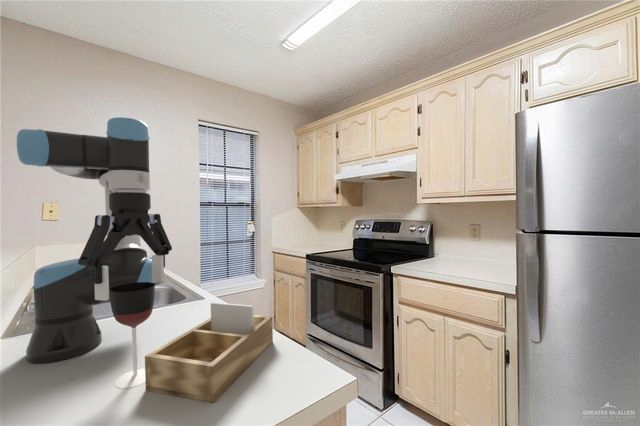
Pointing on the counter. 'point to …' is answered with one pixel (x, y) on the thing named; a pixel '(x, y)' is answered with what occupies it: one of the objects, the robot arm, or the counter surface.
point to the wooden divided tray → (205, 360)
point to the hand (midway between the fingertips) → (133, 290)
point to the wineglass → (132, 320)
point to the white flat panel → (232, 318)
